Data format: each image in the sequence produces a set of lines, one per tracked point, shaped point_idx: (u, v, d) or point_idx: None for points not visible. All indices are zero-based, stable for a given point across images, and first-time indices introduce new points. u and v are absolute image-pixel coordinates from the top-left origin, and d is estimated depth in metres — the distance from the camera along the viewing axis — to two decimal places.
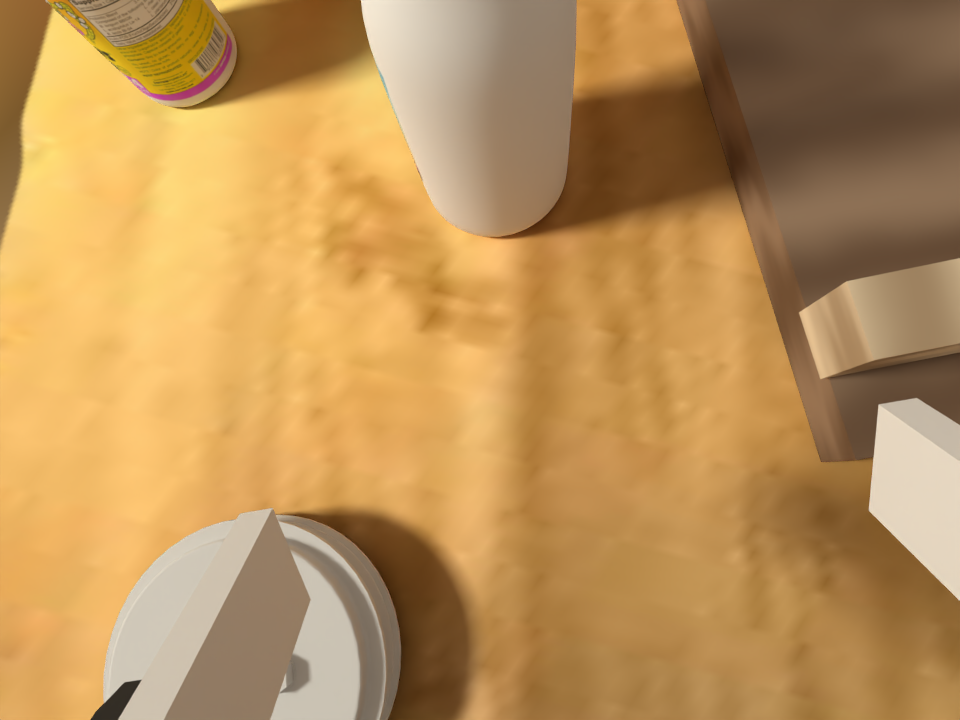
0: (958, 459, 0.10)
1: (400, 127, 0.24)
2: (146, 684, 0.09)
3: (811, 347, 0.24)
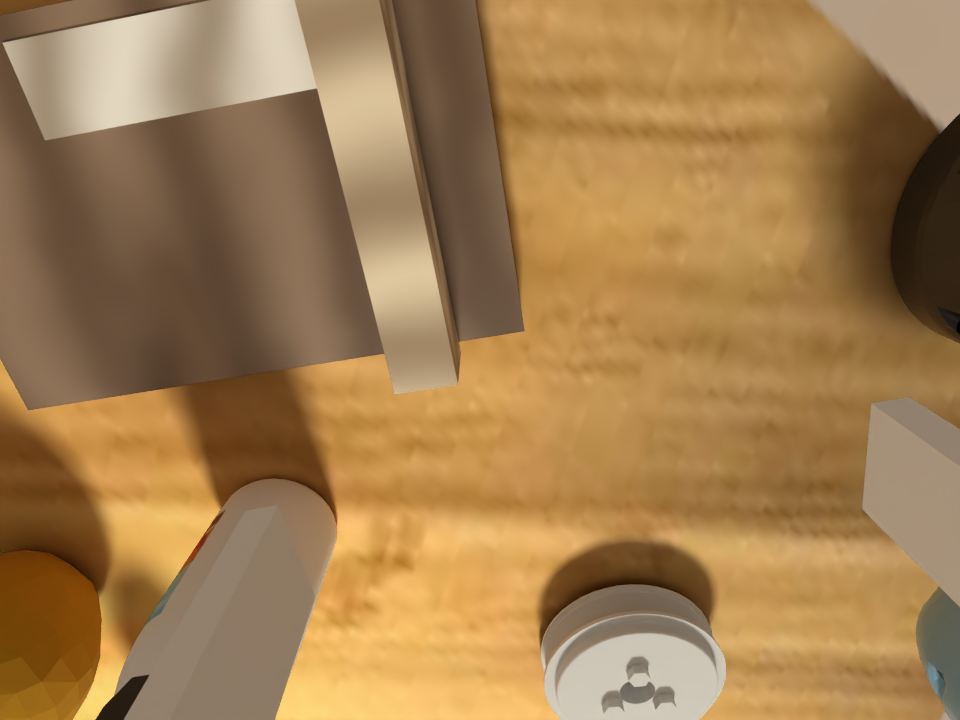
0: (949, 457, 0.10)
1: None
2: (155, 678, 0.09)
3: None
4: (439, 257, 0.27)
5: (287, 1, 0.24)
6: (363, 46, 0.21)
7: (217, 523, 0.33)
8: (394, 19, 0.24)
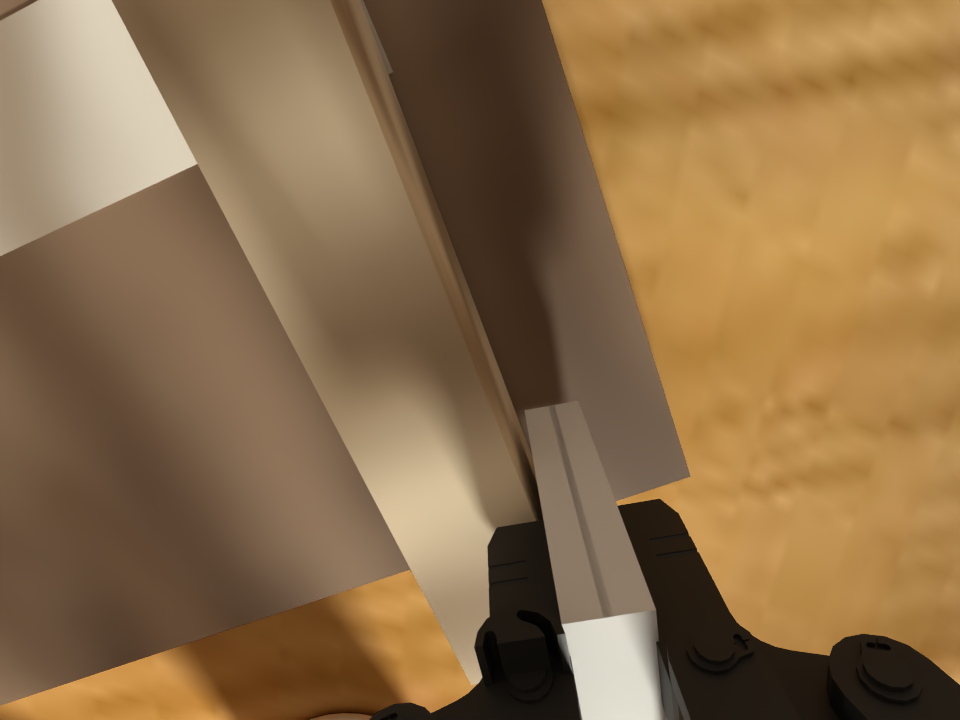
0: (560, 449, 0.12)
1: None
2: (550, 514, 0.10)
3: None
4: (510, 411, 0.14)
5: None
6: (278, 33, 0.08)
7: None
8: None
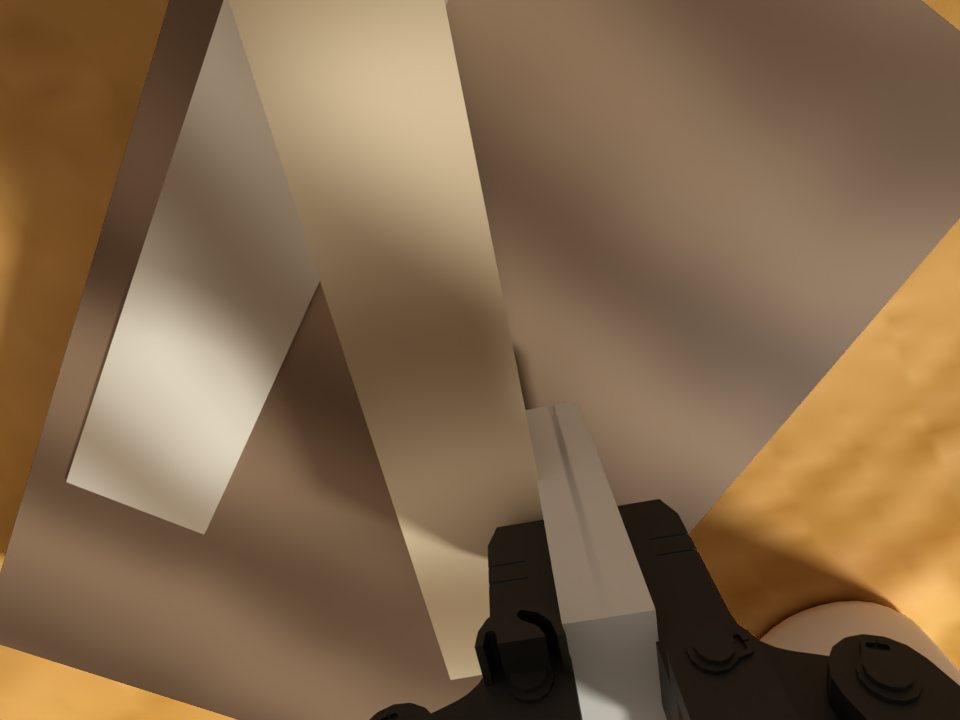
0: (559, 449, 0.12)
1: None
2: (550, 514, 0.10)
3: None
4: None
5: (239, 50, 0.12)
6: None
7: None
8: None
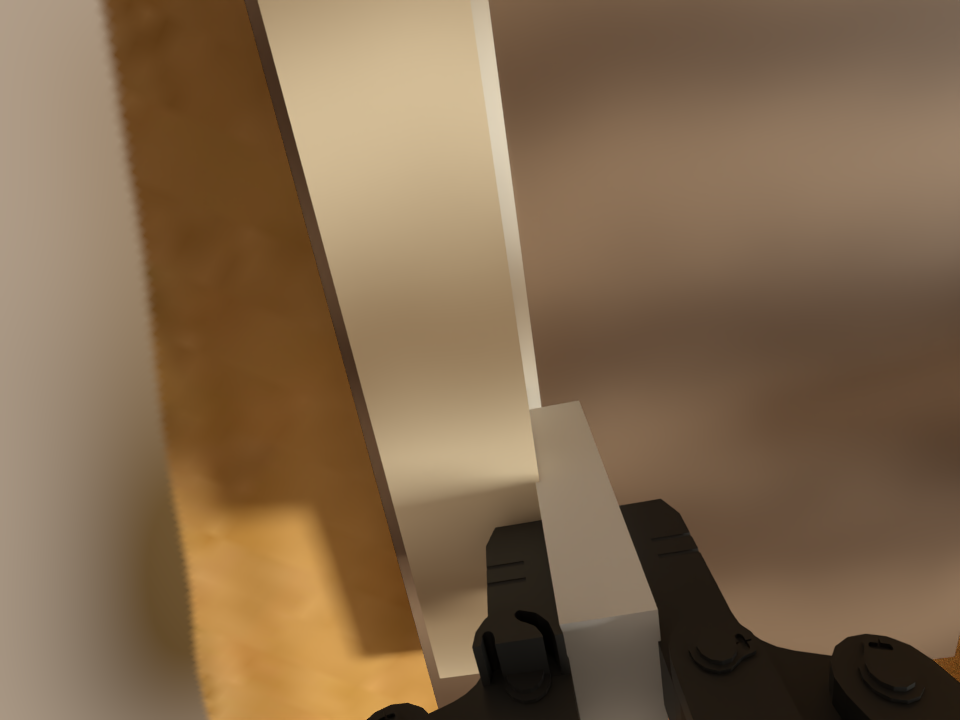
0: (561, 449, 0.12)
1: None
2: (548, 514, 0.10)
3: None
4: None
5: None
6: None
7: None
8: None
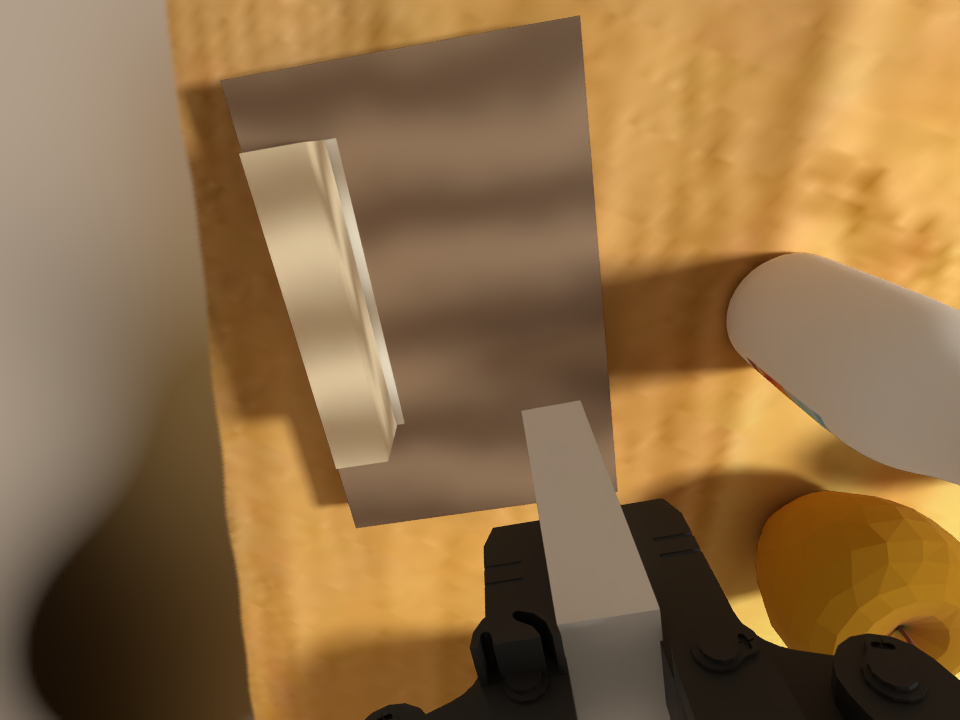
0: (562, 449, 0.12)
1: None
2: (545, 515, 0.10)
3: None
4: (374, 354, 0.32)
5: None
6: (301, 209, 0.26)
7: (756, 364, 0.33)
8: (332, 171, 0.29)
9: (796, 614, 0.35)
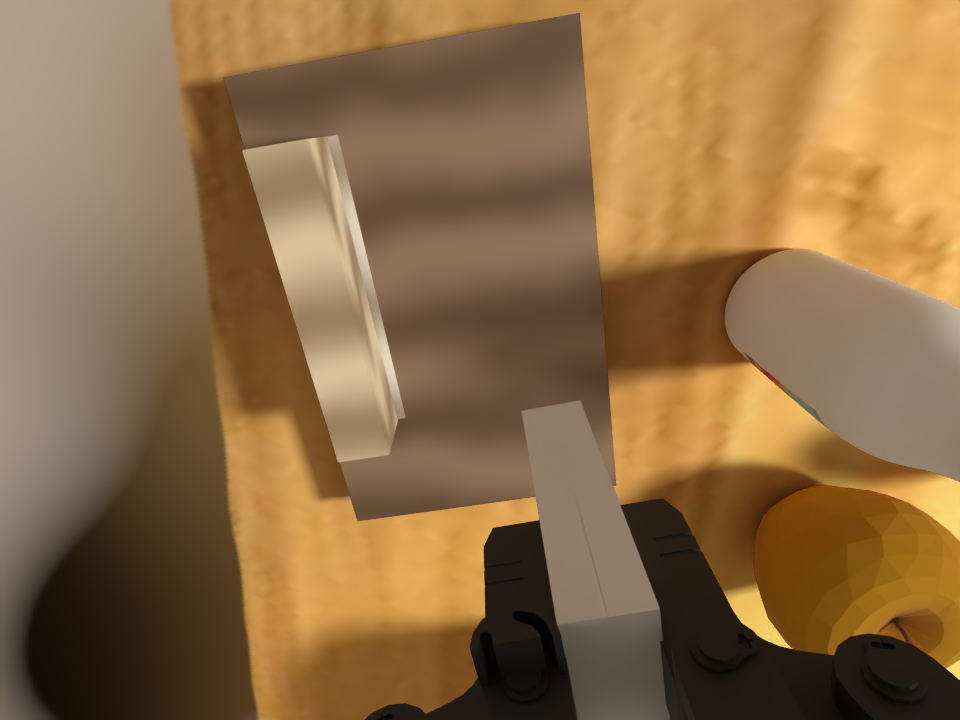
0: (562, 448, 0.12)
1: None
2: (545, 514, 0.10)
3: None
4: (375, 349, 0.33)
5: None
6: (303, 205, 0.27)
7: (753, 359, 0.34)
8: (334, 167, 0.30)
9: (792, 606, 0.35)
